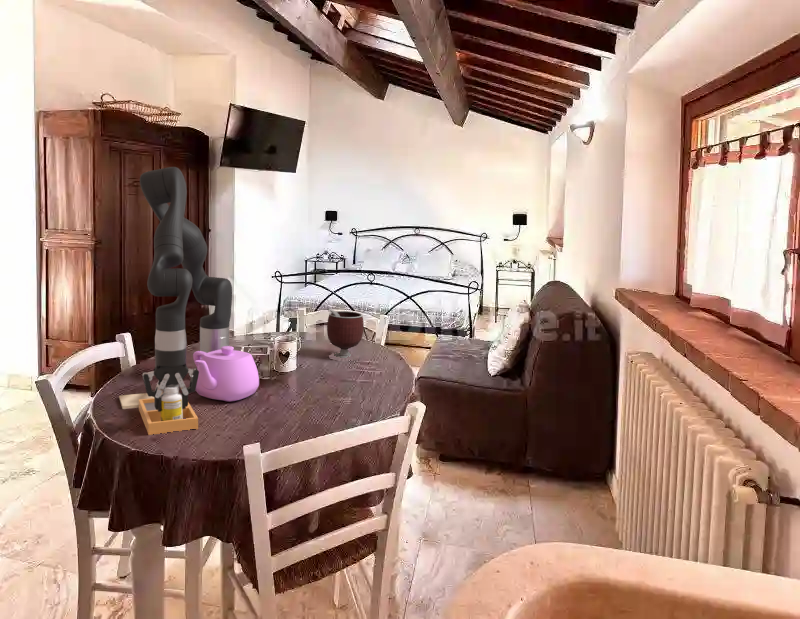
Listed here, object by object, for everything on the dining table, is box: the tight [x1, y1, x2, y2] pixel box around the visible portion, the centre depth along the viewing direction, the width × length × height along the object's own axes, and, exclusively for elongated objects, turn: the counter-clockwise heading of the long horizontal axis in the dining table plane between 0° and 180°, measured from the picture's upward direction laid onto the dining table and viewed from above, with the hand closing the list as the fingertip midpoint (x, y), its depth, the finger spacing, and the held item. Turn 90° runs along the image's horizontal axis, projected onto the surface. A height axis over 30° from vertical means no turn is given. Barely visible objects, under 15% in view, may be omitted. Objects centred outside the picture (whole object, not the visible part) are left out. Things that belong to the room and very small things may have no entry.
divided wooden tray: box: [138, 398, 199, 436], centre depth 170 cm, size 12×20×3 cm, turn 29°
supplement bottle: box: [160, 384, 183, 421], centre depth 165 cm, size 5×5×10 cm
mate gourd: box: [326, 308, 365, 358], centre depth 243 cm, size 16×14×20 cm
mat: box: [118, 391, 164, 410], centre depth 183 cm, size 12×10×1 cm
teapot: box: [192, 345, 260, 403], centre depth 189 cm, size 23×21×15 cm
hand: (171, 409), depth 165 cm, fingers closed on supplement bottle, 5 cm apart
